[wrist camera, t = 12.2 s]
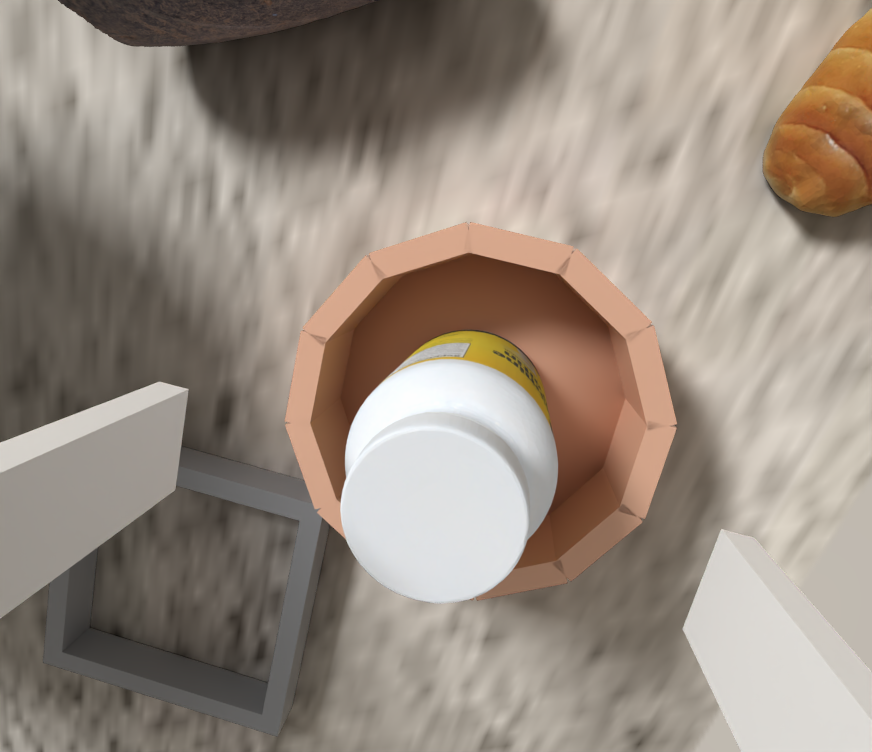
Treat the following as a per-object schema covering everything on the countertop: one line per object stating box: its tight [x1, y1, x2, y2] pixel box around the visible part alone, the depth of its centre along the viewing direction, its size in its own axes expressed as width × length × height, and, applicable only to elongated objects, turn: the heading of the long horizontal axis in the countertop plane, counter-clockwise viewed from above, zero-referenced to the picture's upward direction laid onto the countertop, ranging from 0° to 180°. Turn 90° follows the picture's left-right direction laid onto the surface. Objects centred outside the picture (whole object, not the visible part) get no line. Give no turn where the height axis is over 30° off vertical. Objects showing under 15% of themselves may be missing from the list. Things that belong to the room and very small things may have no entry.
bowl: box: [285, 222, 677, 601], centre depth 24 cm, size 14×14×5 cm
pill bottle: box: [340, 329, 558, 604], centre depth 19 cm, size 6×6×12 cm
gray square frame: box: [43, 446, 330, 737], centre depth 29 cm, size 13×13×2 cm
